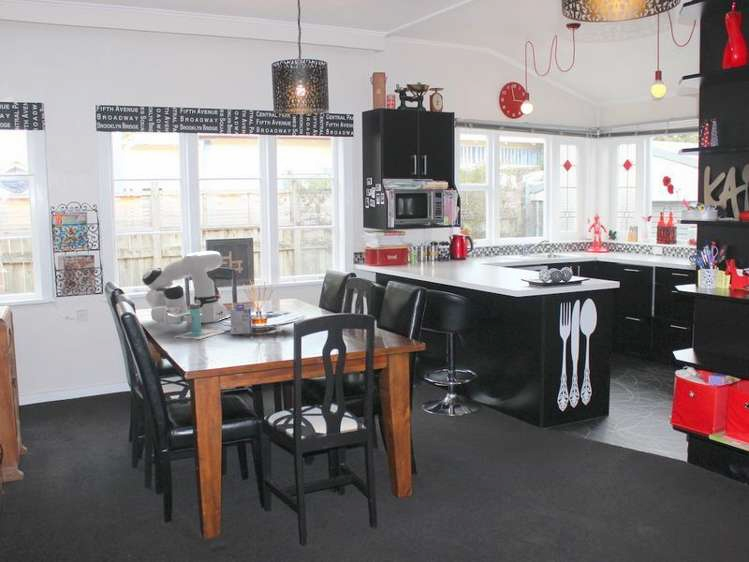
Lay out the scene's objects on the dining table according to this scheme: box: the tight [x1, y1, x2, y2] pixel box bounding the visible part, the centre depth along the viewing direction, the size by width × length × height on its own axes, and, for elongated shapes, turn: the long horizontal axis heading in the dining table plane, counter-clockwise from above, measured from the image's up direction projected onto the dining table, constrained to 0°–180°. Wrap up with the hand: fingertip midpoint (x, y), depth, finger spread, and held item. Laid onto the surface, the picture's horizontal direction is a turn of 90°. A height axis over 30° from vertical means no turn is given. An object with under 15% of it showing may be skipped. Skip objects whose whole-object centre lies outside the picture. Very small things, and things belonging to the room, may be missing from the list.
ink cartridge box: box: [229, 304, 253, 335], centre depth 370 cm, size 10×6×14 cm, turn 90°
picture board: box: [174, 328, 226, 340], centre depth 370 cm, size 19×17×1 cm
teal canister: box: [189, 303, 202, 333], centre depth 367 cm, size 5×5×14 cm
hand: (196, 317), depth 367 cm, fingers closed on teal canister, 5 cm apart
